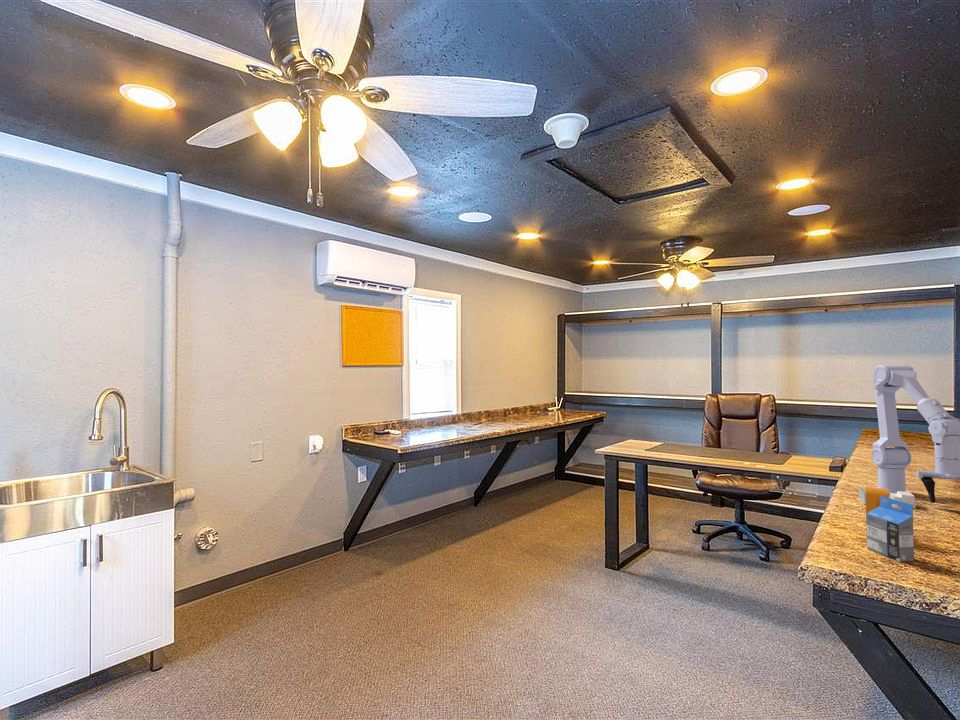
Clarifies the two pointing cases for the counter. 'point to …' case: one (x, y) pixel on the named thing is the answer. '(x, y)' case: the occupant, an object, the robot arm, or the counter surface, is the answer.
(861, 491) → the chute mount
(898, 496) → the chute piece
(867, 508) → the bracket
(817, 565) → the counter surface
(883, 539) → the ink cartridge box
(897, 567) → the counter surface
